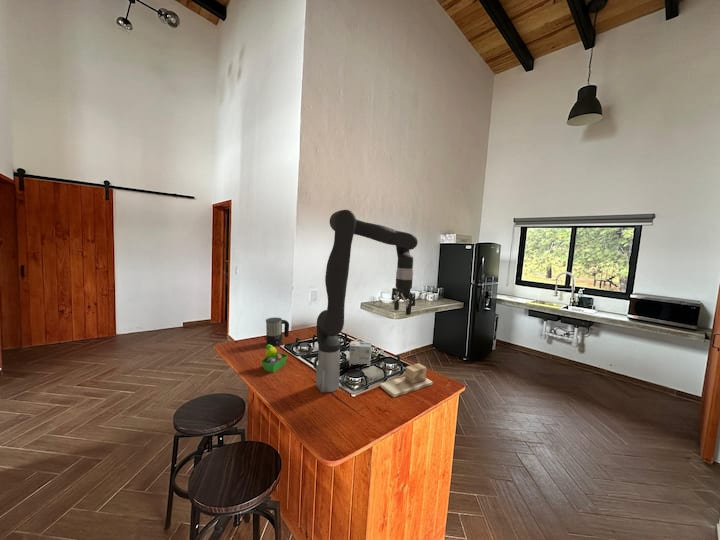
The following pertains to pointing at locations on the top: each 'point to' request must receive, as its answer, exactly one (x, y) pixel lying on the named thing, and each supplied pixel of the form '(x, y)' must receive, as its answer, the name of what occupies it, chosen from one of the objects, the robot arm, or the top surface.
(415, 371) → the block
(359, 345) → the light bulb box
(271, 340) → the milk frother
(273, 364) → the fruit basket
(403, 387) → the board
